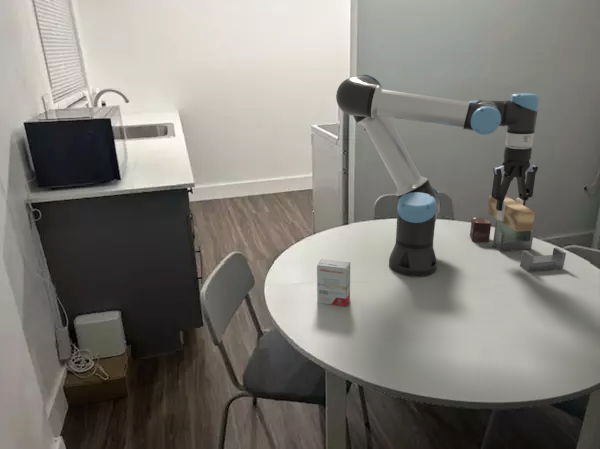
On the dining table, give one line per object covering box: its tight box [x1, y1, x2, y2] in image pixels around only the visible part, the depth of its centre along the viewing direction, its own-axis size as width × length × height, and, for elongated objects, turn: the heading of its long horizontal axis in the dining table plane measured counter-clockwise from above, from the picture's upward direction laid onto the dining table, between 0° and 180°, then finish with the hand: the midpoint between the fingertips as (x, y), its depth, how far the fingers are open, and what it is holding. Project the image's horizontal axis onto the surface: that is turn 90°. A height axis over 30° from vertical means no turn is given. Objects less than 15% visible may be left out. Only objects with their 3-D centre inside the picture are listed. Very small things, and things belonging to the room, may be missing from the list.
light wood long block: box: [486, 195, 536, 232], centre depth 148 cm, size 18×5×6 cm, turn 6°
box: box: [469, 217, 492, 243], centre depth 172 cm, size 6×6×7 cm
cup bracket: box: [492, 218, 535, 252], centre depth 163 cm, size 12×5×13 cm, turn 99°
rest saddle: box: [519, 247, 567, 273], centre depth 149 cm, size 12×4×6 cm, turn 99°
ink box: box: [316, 258, 351, 307], centre depth 130 cm, size 9×5×12 cm, turn 71°
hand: (508, 219), depth 149 cm, fingers closed on light wood long block, 5 cm apart
